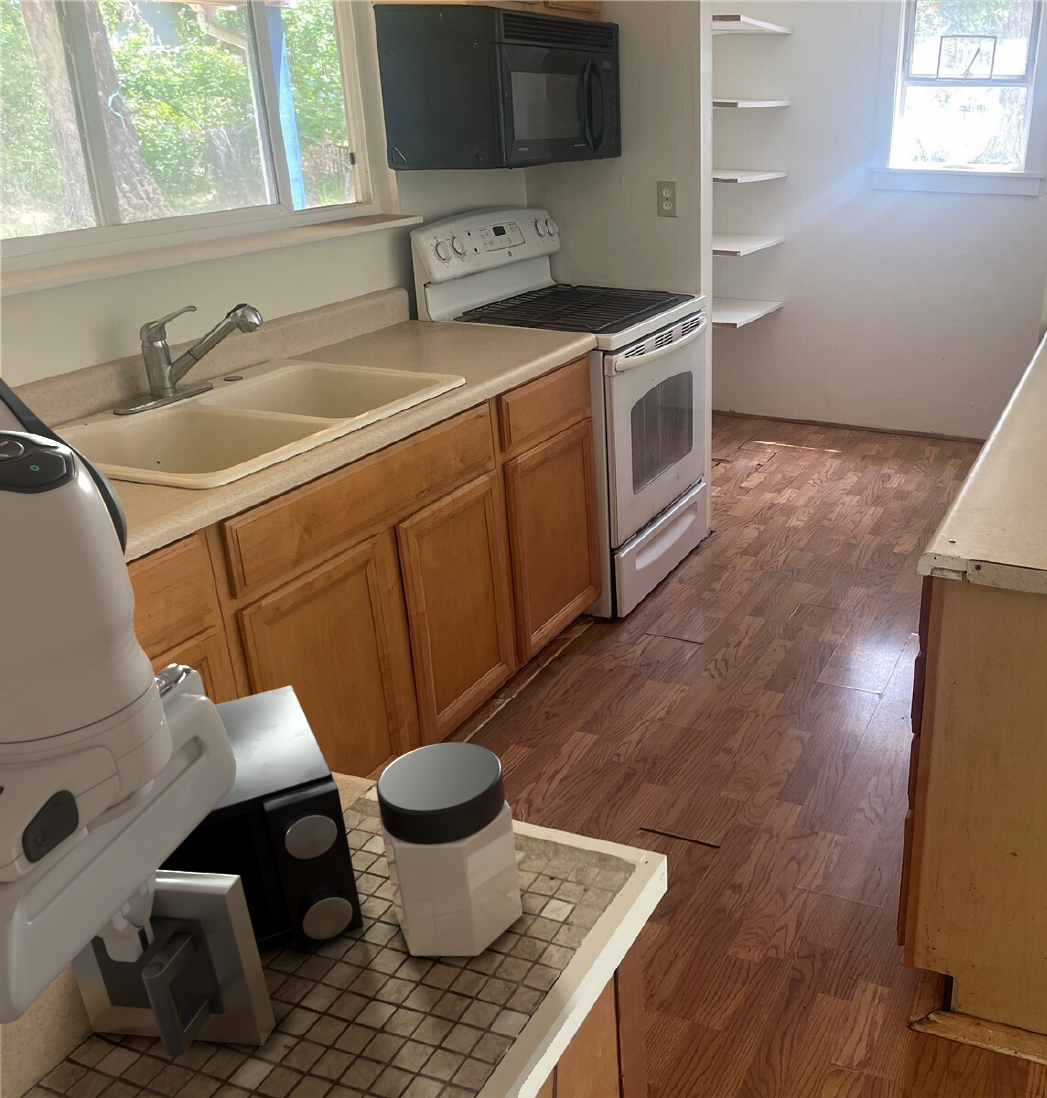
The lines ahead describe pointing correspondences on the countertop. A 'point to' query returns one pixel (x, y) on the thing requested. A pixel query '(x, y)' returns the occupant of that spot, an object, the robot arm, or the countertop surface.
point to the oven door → (184, 970)
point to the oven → (278, 827)
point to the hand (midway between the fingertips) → (133, 951)
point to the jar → (449, 848)
